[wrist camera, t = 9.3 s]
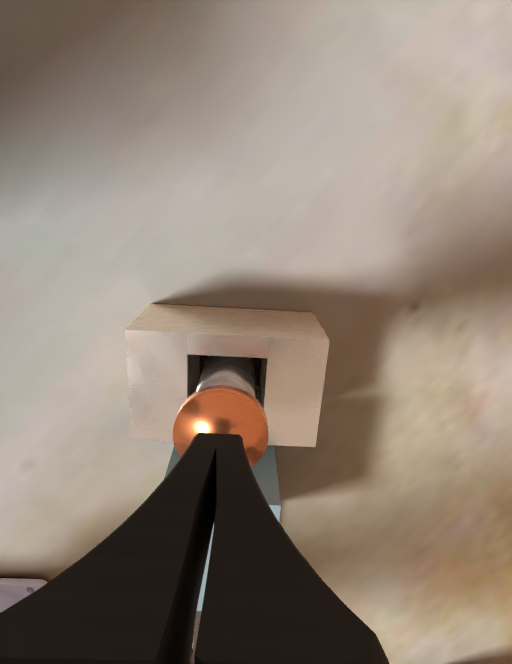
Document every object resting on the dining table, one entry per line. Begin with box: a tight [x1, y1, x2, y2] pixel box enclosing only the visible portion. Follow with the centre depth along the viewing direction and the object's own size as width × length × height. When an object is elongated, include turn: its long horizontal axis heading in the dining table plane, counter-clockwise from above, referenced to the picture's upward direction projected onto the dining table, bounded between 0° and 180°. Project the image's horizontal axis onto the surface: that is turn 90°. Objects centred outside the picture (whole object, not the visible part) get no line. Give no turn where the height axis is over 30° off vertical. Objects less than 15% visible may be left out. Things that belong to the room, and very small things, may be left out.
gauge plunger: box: [173, 355, 269, 467], centre depth 15 cm, size 3×3×5 cm
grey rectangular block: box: [125, 304, 330, 447], centre depth 17 cm, size 8×5×4 cm, turn 86°
